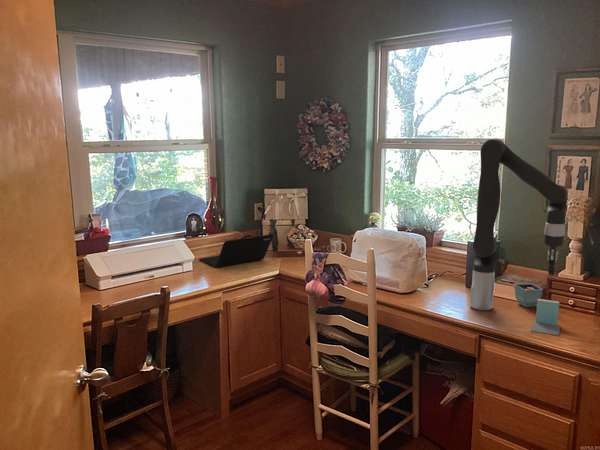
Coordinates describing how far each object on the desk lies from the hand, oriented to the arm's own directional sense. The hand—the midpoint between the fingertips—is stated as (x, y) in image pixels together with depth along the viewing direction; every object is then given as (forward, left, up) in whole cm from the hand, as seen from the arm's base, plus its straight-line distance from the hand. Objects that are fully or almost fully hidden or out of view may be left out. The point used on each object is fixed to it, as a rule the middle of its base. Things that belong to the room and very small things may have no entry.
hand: (551, 274), depth 212 cm
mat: (0, -14, -19) cm, 24 cm away
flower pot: (-9, +14, -20) cm, 25 cm away
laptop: (-173, +16, -20) cm, 175 cm away
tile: (0, -7, -19) cm, 21 cm away
